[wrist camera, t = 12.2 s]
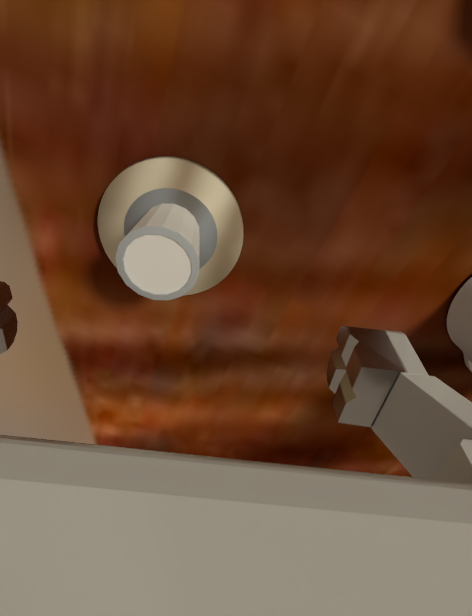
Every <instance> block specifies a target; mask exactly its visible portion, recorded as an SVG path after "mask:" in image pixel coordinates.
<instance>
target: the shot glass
mask: <svg viewBox="0 0 472 616" xmlns="http://www.w3.org/2000/svg"><path fill="white" fill-rule="evenodd" d="M115 258H116V264H117V270H118V273H119V274H120V276H121V278H122V279H123V281H124V282H125V284H126V285H127V286H128V287H130V288H131V289H132V290H134V291H135V292H136V293H137V294H139V295H141V296H144V297H147V298H150V299H153V300H171V299H174V298H177V297H181V296H183V295H184V294H186V293H187V292H188V291H189V290H190V289H191V288H193V287H194V285H195V283H196V280H197V278H198V276H199V258H200V236H199V225H198V223H197V221H196V219H195V217H194V216H193V215H192V214H191V213H190V212H189V211H188V210H187V209H186V208H184V207H181V206H179V205H176V204H167V203H162V204H160V205H157V206H155V207H152V208H151V209H150V210H149V211H148V212H147V213H146V214H145V215H144V216H143V218H142V219H141V220H140V221H139V222H138V223H137V224H136V225H135V226H134V227H133V229H132V230H131V231H130V232H129V233H128V234H127V235H126V236H125V237H124V239H123V240H122V241H121V242H120V243H119V246H118V249H117V253H116V256H115Z"/></svg>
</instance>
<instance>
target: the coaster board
mask: <svg viewBox="0 0 472 616" xmlns="http://www.w3.org/2000/svg"><path fill="white" fill-rule="evenodd" d="M162 203H167V204H176V205H179V206H181V207H184V208H186V209H187V210H188V211H189V212H190V213H191V214H192V215H193V216H194V217H195V219H196V221H197V223H198V225H199V236H200V258H199V276H198V278H197V280H196V283H195V285H194V287H193V288H191V289H190V290H189V291H188V292H187V293H186V294H184V295H191V294H195V293H199V292H202V291H205V290H207V289H209V288H211V287H213V286H215V285H216V284H218V283H219V282H220V281H222V280H223V279H224V278H225V277H226V276H227V275H228V274H229V273H230V271H231V270H232V269H233V267H234V266H235V264H236V262H237V260H238V258H239V255H240V253H241V249H242V244H243V220H242V214H241V211H240V208H239V205H238V203H237V201H236V199H235V196H234V195H233V193H232V192H231V190H230V189H229V187H228V186H227V185H226V184H225V183H224V182H223V180H221V179H220V178H219V177H218V176H217V175H216V174H215V173H213V172H212V171H211V170H209V169H208V168H206V167H204V166H202V165H200V164H199V163H196V162H194V161H191V160H188V159H184V158H180V157H172V156H157V157H152V158H147V159H144V160H141V161H138V162H136V163H134V164H132V165H130V166H129V167H127V168H126V169H125V170H123V171H122V172H121V173H120V174H119V175H118V176H117V177H116V178H115V179H114V180H113V181H112V182H111V184H110V185H109V186H108V188H107V189H106V191H105V193H104V195H103V197H102V199H101V202H100V205H99V211H98V231H99V236H100V240H101V243H102V245H103V248H104V250H105V252H106V254H107V256H108V258H109V259H110V260H111V262H112V263H113V265H114V266H115V267H116V268H117V264H116V258H115V256H116V253H117V249H118V246H119V243H120V242H121V241H122V240H123V239H124V237H125V236H126V235H127V234H128V233H129V232H130V231H131V230H132V229H133V227H134V226H135V225H136V224H137V223H138V222H139V221H140V220H141V219H142V218H143V216H144V215H145V214H146V213H147V212H148V211H149V210H150V209H151V208H152V207H155V206H157V205H160V204H162Z"/></svg>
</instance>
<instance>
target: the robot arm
mask: <svg viewBox="0 0 472 616" xmlns="http://www.w3.org/2000/svg"><path fill="white" fill-rule="evenodd" d="M11 299H12V294H11V291H10V287H9V285H7V284H6V283H5V282H1V281H0V353H3V352H5V351H7V350H8V349H9V347H10V346H11V345H12V343H13V341H14V338H15V336H16V333H17V318H16V314H15V312H14V311H13V310H12V309H11V308H10V307H9V306H8V303H9V302H10V301H11ZM447 330H448V333H449V336H450V338H451V340H452V341H453V342H454V343H455V345H456V346H458V347H459V348H460V349H461V351H462V352H463V354H464V361H465V364H466V366H467V368H468V369H469V370H470V371H471V372H472V277H471V278H470V279H469V280H468V281H467V282H466V283H465V284H464V285H463V286H462V288H461V289H460V290H459V291H458V293H457V294H456V296H455V297H454V299H453V301H452V303H451V305H450V308H449V311H448V315H447ZM336 339H337V343H338V346H339V347H338V348H337V349H335V350H334V351H332V352H331V355H330V358H329V361H328V366H327V382H328V386H329V389H331V390H332V391H333V392H334V393H335V396H334V399H333V401H332V402H333V406H334V410H335V414H336V418H337V421H338V423H344V424H351V425H359V426H366V427H372V430H373V431H374V432H375V434H376V435H377V436H378V437H379V438H380V439H381V440H382V442H383V443H384V444H385V445H386V446H387V447H388V449H389V450H390V451H391V452H392V453H393V454H394V456H395V457H396V458H397V459H398V460H399V461H400V462H401V464H402V465H403V466H404V467H405V468H406V469H407V471H408V472H409V473H410V474H411V475H412V476H413V477H404V476H394V475H384V474H375V473H365V472H355V471H346V470H336V469H326V468H317V467H307V466H297V465H288V464H278V463H268V462H258V461H249V460H239V459H229V458H220V457H210V456H201V455H191V454H181V453H172V452H162V451H152V450H143V449H133V448H123V447H114V446H104V445H95V444H85V443H74V442H65V441H55V440H46V439H36V438H26V437H16V436H6V435H0V616H472V402H470V401H469V400H467V399H466V398H465V397H463V396H462V395H460V394H459V393H457V392H456V391H455V390H453V389H452V388H450V387H449V386H448V385H446V384H445V383H443V382H442V381H441V380H439V379H438V378H436V377H435V376H429V375H428V373H427V372H426V370H425V368H424V366H423V365H422V363H421V361H420V359H419V358H418V356H417V354H416V352H415V350H414V349H413V347H412V345H411V343H410V342H409V340H408V338H407V336H406V335H405V334H404V333H402V332H398V331H388V330H375V329H366V328H357V327H348V326H342V328H341V329H340V331H339V333H338V336H337V338H336Z"/></svg>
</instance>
